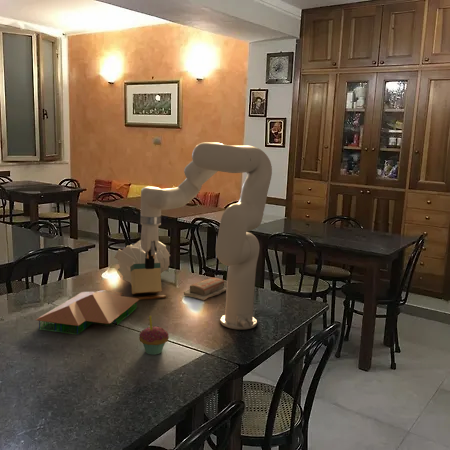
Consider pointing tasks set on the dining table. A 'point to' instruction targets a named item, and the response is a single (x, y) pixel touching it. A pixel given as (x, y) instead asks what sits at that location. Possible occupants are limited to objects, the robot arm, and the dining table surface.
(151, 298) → the oak strip
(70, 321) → the house
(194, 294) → the packaged product
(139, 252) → the spiral staircase
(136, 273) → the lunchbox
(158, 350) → the cupcake
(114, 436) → the dining table surface
